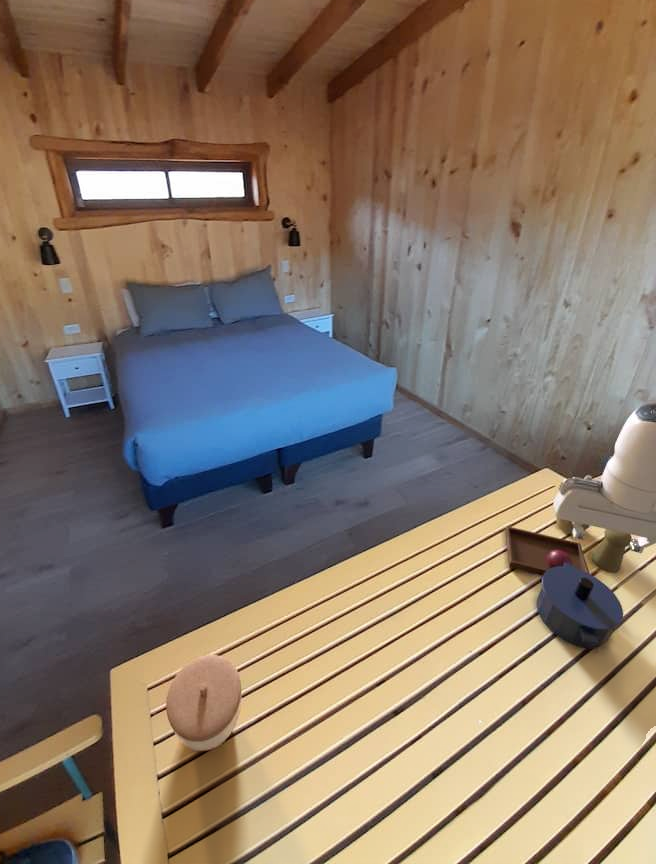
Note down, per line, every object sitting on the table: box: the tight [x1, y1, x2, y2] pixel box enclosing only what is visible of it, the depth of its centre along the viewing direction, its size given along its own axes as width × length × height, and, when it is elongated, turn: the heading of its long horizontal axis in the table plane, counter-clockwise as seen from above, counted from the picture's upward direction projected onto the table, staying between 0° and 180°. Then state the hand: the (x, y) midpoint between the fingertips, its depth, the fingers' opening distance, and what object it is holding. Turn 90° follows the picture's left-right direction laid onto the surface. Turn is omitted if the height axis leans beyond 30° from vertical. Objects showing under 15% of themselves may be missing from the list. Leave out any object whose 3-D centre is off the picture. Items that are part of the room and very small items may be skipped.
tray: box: [504, 525, 591, 577], centre depth 101 cm, size 17×12×2 cm
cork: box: [590, 529, 633, 574], centre depth 98 cm, size 6×6×11 cm
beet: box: [547, 550, 573, 568], centre depth 97 cm, size 5×5×6 cm
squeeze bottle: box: [555, 474, 593, 536], centre depth 107 cm, size 8×8×18 cm
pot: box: [536, 562, 616, 650], centre depth 87 cm, size 13×19×7 cm
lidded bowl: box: [165, 654, 242, 752], centre depth 70 cm, size 13×13×11 cm
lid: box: [541, 566, 624, 631], centre depth 84 cm, size 14×14×5 cm
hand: (605, 542), depth 78 cm, fingers open, 8 cm apart
